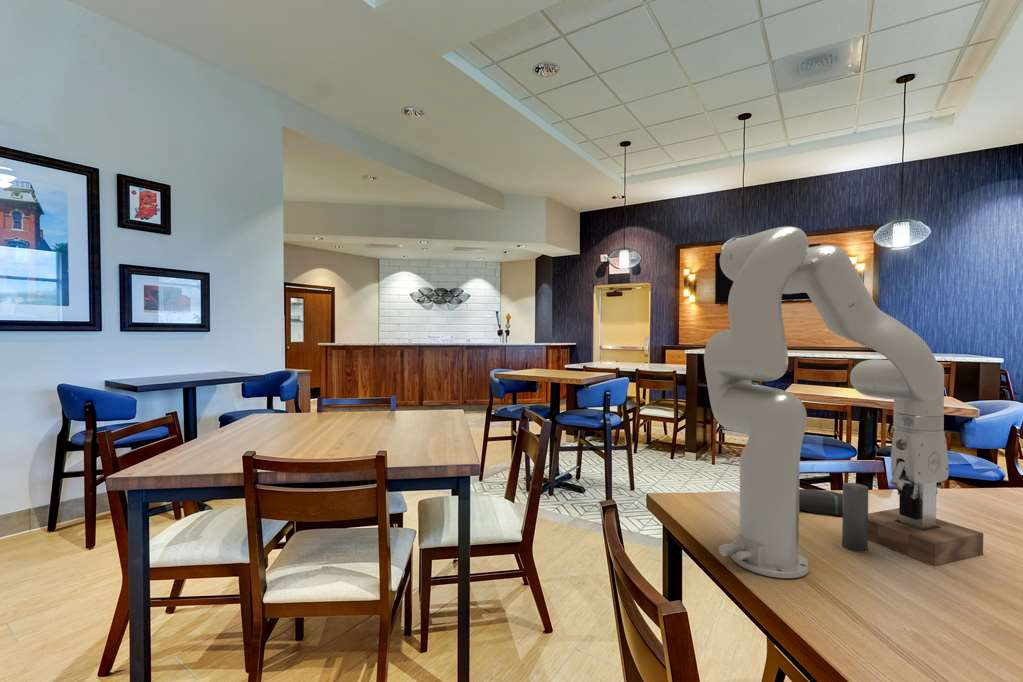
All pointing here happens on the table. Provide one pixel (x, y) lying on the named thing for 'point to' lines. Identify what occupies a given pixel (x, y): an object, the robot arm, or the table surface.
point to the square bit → (923, 508)
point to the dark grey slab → (821, 501)
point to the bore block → (924, 538)
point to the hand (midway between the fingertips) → (917, 514)
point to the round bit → (855, 517)
